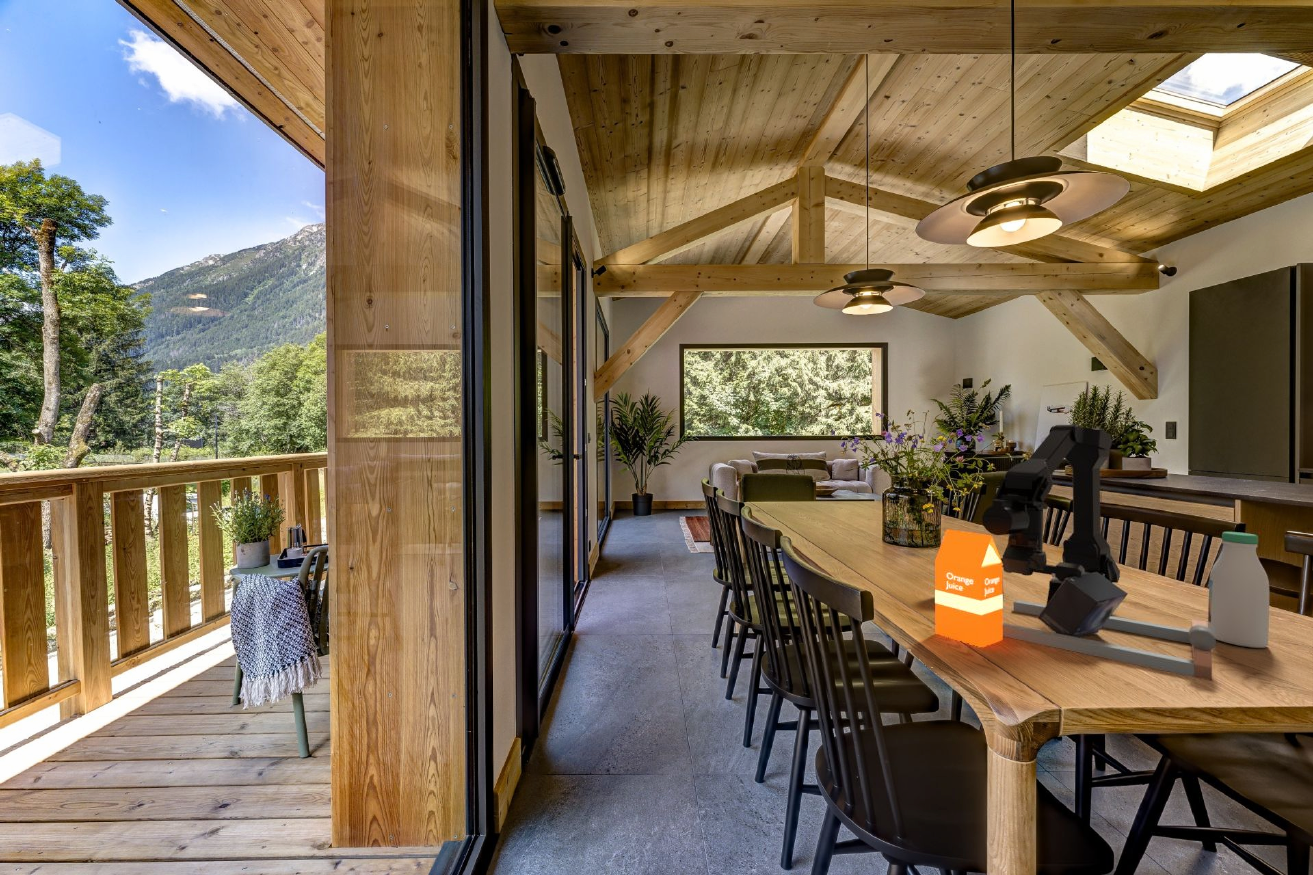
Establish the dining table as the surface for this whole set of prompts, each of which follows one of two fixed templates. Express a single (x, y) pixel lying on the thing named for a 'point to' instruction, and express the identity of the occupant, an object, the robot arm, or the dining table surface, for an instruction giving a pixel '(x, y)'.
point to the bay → (1196, 636)
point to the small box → (1082, 605)
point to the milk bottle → (1239, 593)
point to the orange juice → (968, 589)
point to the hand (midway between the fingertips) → (1024, 608)
